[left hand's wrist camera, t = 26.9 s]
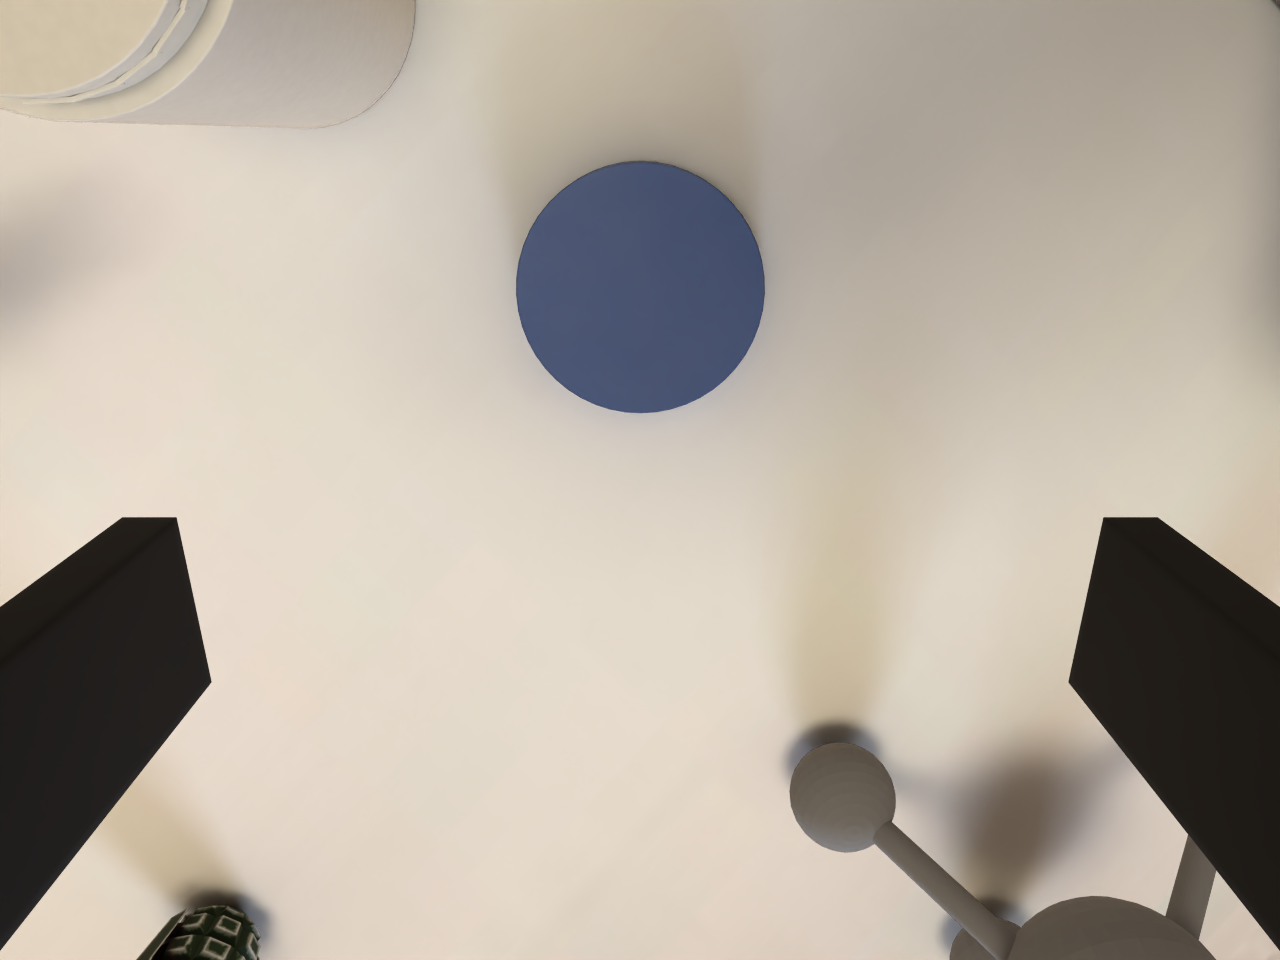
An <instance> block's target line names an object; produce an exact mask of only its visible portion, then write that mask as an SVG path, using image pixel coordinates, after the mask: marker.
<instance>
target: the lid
mask: <svg viewBox="0 0 1280 960" xmlns="http://www.w3.org/2000/svg"><path fill="white" fill-rule="evenodd" d="M764 295H765V286H764V271H763V265H762V259H761V256H760V252H759V249H758V245H757V243H756V241H755V238H754V236H753V234H752V231H751V229H750V228H749V226H748V224H747V223H746V221H745V219H744V218H743V216H742V214H741V213H740V212H739V211H738V210H737V208H736V207H735V206H734V205H733V203H732V202H731V201H730V200H729V199H728V198H727V197H726V196H725V195H724V194H722V193H721V192H720V191H719V190H718V189H717V188H715V187H714V186H712V185H711V184H710V183H708V182H707V181H705V180H704V179H702V178H701V177H699V176H697V175H695V174H693V173H691V172H689V171H687V170H684V169H681V168H679V167H676V166H673V165H669V164H664V163H659V162H650V161H631V162H622V163H617V164H612V165H608V166H605V167H602V168H600V169H597V170H594V171H592V172H590V173H588V174H586V175H584V176H582V177H580V178H579V179H577V180H575V181H574V182H573V183H571V184H570V185H569V186H567V187H566V188H564V189H563V190H562V191H560V192H559V193H558V194H557V195H556V196H555V197H554V198H553V199H552V200H551V201H550V202H549V203H548V204H547V206H546V207H545V208H544V209H543V211H542V212H541V213H540V214H539V216H538V217H537V219H536V221H535V222H534V224H533V226H532V227H531V229H530V231H529V233H528V236H527V238H526V240H525V243H524V245H523V248H522V252H521V256H520V259H519V264H518V271H517V278H516V296H517V305H518V312H519V316H520V320H521V324H522V327H523V330H524V332H525V335H526V337H527V340H528V342H529V344H530V346H531V348H532V349H533V351H534V353H535V355H536V356H537V358H538V359H539V361H540V362H541V363H542V365H543V366H544V367H545V369H546V370H547V371H548V372H549V373H550V374H551V375H552V376H553V377H554V378H555V379H556V380H557V381H558V382H559V383H561V384H562V385H563V386H564V387H565V388H567V389H568V390H569V391H571V392H572V393H574V394H576V395H577V396H579V397H580V398H582V399H584V400H586V401H589V402H591V403H593V404H595V405H598V406H601V407H604V408H607V409H611V410H616V411H621V412H629V413H651V412H660V411H665V410H670V409H674V408H677V407H680V406H683V405H686V404H688V403H690V402H692V401H694V400H696V399H699V398H701V397H702V396H704V395H705V394H707V393H708V392H710V391H711V390H713V389H714V388H716V387H717V386H718V385H719V384H720V383H722V382H723V381H724V380H725V379H726V378H727V377H728V376H729V375H730V374H731V373H732V372H733V371H734V370H735V368H736V367H737V366H738V364H739V363H740V362H741V360H742V359H743V358H744V356H745V355H746V353H747V351H748V349H749V347H750V346H751V344H752V342H753V340H754V337H755V335H756V332H757V329H758V327H759V323H760V319H761V315H762V311H763V304H764Z"/></svg>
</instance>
